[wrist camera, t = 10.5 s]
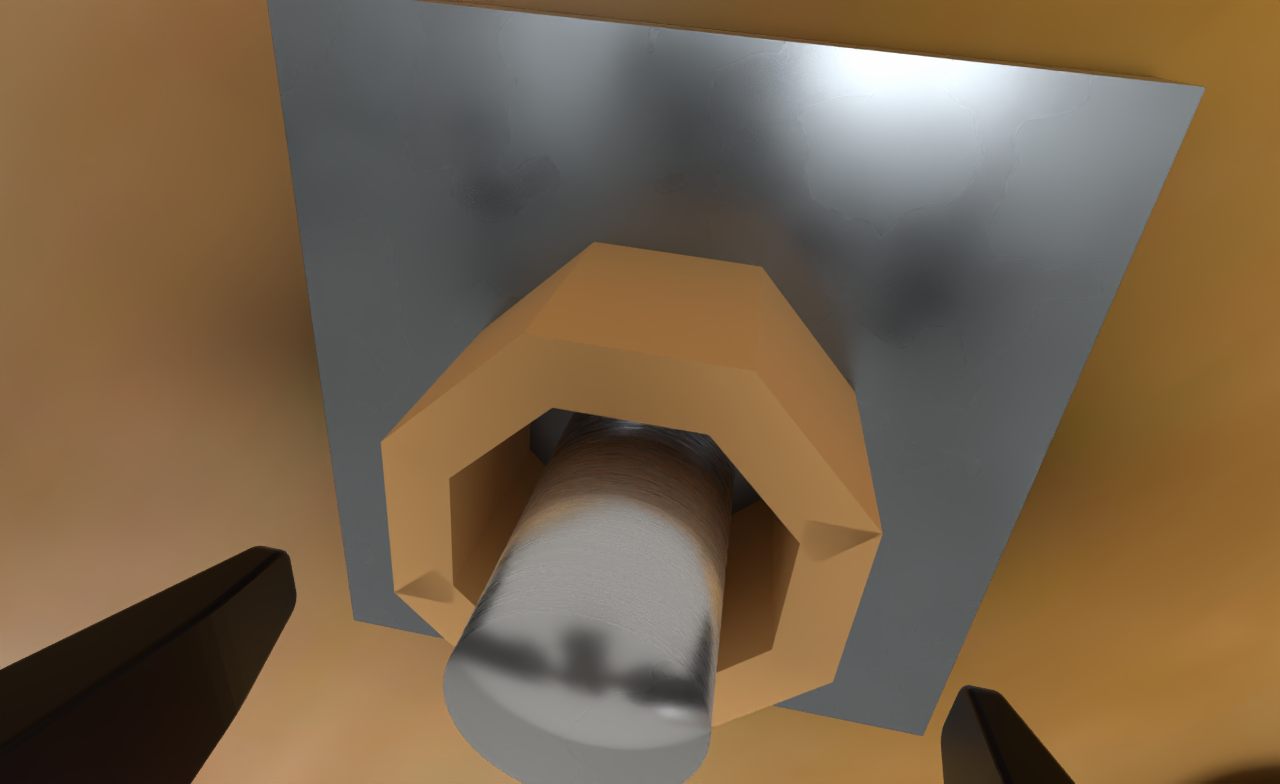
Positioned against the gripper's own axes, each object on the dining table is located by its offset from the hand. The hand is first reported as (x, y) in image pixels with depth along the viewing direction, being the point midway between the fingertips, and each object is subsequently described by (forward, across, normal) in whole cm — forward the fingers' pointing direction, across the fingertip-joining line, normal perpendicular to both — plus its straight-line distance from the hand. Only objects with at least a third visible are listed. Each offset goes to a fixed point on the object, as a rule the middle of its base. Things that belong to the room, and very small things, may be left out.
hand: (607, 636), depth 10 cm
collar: (+5, 0, 0) cm, 5 cm away
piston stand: (+7, 0, 0) cm, 7 cm away
